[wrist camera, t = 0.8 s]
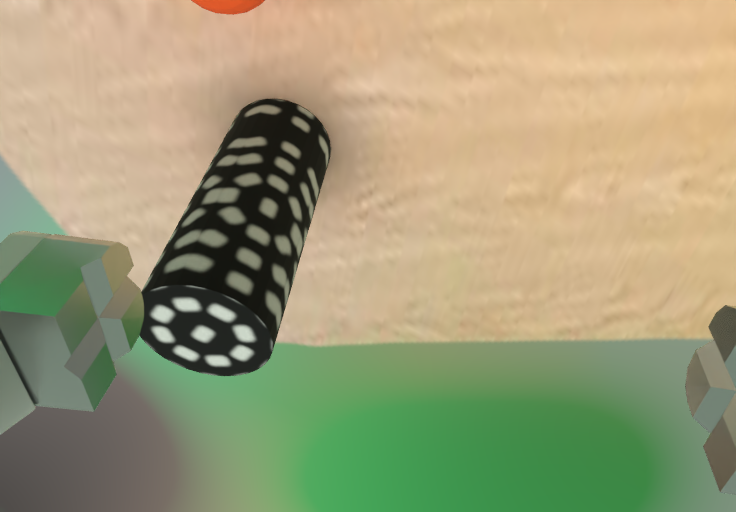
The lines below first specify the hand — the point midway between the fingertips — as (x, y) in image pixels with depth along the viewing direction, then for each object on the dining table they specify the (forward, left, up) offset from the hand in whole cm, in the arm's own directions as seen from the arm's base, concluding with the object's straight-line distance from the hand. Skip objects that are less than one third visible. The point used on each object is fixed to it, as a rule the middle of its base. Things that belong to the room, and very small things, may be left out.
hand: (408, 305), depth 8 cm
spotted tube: (+22, -11, -35) cm, 43 cm away
